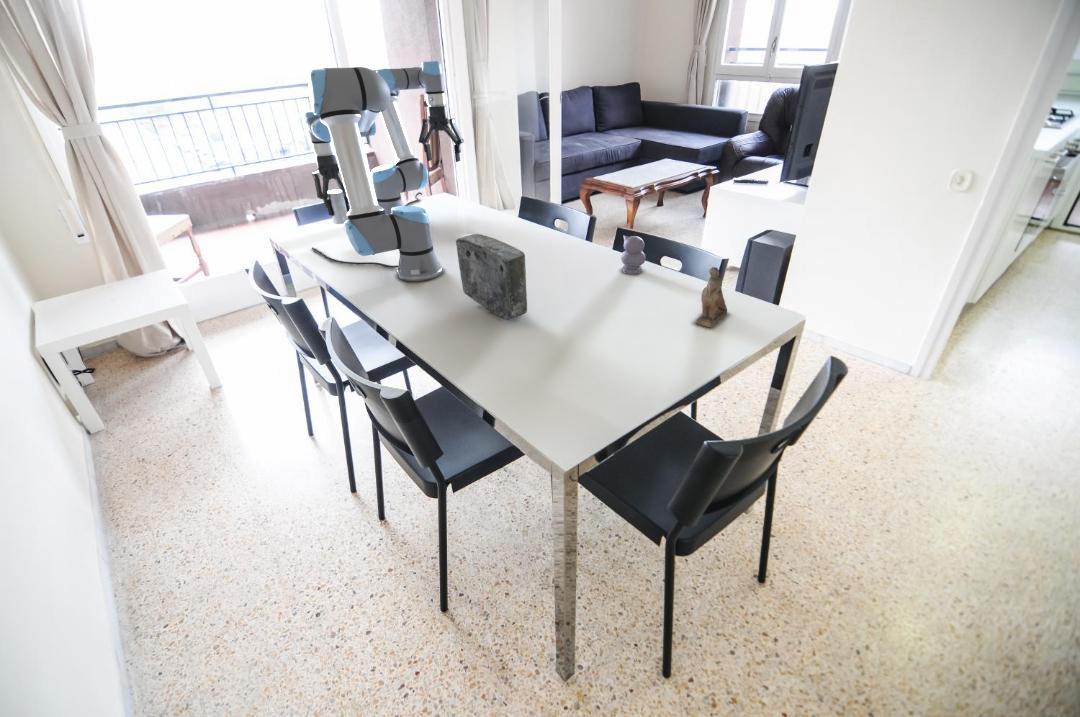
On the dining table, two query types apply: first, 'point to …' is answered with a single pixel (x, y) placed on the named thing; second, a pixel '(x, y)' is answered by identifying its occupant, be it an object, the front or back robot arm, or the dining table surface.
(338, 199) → the canister
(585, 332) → the dining table surface
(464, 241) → the concrete block
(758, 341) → the dining table surface
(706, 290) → the brown carved statuette
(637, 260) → the cat figurine
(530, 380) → the dining table surface
